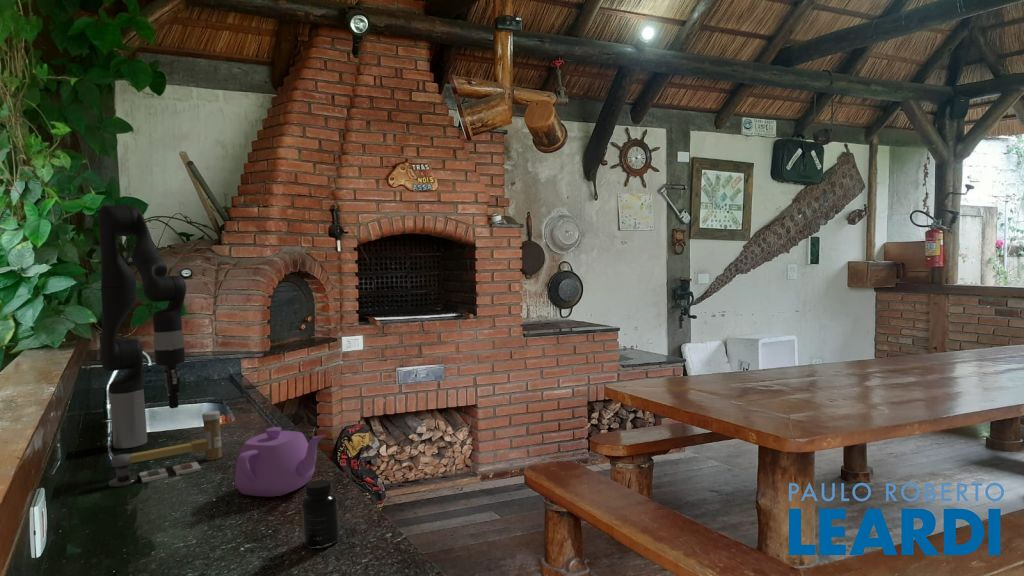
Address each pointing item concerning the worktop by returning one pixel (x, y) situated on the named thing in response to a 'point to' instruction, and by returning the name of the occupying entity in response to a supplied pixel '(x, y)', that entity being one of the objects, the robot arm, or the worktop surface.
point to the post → (122, 477)
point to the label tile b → (186, 468)
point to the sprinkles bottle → (212, 434)
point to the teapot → (275, 463)
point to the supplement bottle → (320, 514)
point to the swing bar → (159, 453)
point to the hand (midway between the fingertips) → (173, 407)
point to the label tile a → (153, 475)
